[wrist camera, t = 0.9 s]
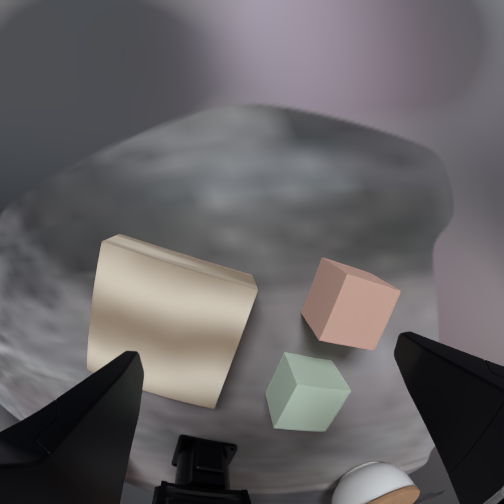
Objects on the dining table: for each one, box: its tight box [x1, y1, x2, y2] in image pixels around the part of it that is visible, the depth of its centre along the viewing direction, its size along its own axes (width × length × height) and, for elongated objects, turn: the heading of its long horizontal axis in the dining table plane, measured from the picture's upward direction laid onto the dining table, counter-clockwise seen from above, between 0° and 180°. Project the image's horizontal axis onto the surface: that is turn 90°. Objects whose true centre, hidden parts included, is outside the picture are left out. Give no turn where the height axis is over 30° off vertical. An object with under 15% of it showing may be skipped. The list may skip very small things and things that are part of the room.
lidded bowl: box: [332, 461, 420, 504], centre depth 25 cm, size 13×13×11 cm
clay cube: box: [301, 257, 401, 350], centre depth 21 cm, size 5×5×5 cm
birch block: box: [87, 234, 258, 409], centre depth 21 cm, size 11×11×4 cm
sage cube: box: [265, 352, 351, 432], centre depth 23 cm, size 5×5×5 cm
